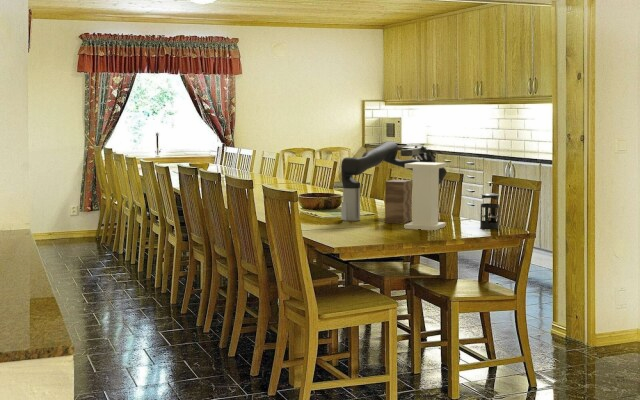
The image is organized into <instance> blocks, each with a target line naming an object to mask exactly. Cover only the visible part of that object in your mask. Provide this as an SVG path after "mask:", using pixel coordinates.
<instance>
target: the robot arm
mask: <svg viewBox="0 0 640 400" xmlns="http://www.w3.org/2000/svg"><path fill="white" fill-rule="evenodd" d="M420 147H421V150H422V152H423V153H422V154H416V155H412V156H411V159H410V158H409V159H404V160H403V159H399V158H397V155H398V152H399V145H398V144H397V143H396V142H394V141H384V142H383V143H382V144H380V145H378V146H377V147H374V148H372V149H369V150H367V151H365V152H364V153H363V154H362V156H361V157H343V158H342V161H341V165H340V166H341V167H340V168H341V169H340V170H341V171H340V172H341V184H342V201H341V202H340V203H341V205H340V206H341V207H340V208H341V209H340V210H341V214H340V215H341V216H340V217H341V220H342V221H345V222H355V221H356V222H357V221H360V220H361V182H360V181H358V180H355V179H354V177H353V176H359V175H362V174H363V173H364V172H366V171H367V170H369V169H372V168H374V167H376V166H379V165H380V164H381V163H382V162H385V163H387V164H391V165H393V166H397V167H399V168H404V169H408V170H409V171H412V172H413V168H405V164H407V163H413V162H433V163H438V162H437V159H436V158H437V153H436V152H434V151H432V150H431V149H427V148H426V149H425V147H426V146H423V145H421V146H420ZM414 148H418V146H417V145H415V146H414ZM447 173H448V171H447V169H446V167H443V168H439V185H441V184H442V182H443V180H444V179H445V176H446V174H447Z"/></svg>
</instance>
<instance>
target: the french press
mask: <svg viewBox="0 0 640 400" xmlns="http://www.w3.org/2000/svg"><path fill="white" fill-rule="evenodd" d="M485 183H486V184H488V186H489V192H486V193H481V194H480V195H481V199H493V200H499V196H500V194H499V193H491V191H492V190H491V187H492V184H495V181H487V182H485ZM483 209H484V214H483ZM496 211H497V212H496ZM499 215H500V204H499V203H493V202H492V203H491V202H489V203H488V202H486V203H480V223H479V224H480V226H479V229H480V230H485V229H496V230H499V229H500V216H499ZM483 218H484V220H483ZM489 219H490V220H489ZM498 228H499V229H498Z"/></svg>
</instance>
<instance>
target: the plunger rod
mask: <svg viewBox="0 0 640 400" xmlns="http://www.w3.org/2000/svg"><path fill="white" fill-rule="evenodd" d="M417 147H418V146H417ZM421 147H422V146H419V147H418V148H415V147H413V148H412V147H411V148H405V149H400V156H401V157H412V156H413V155H416V154H422V153H423V152H422V150H421ZM424 147H425V149H427V146H424Z"/></svg>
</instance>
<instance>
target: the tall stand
mask: <svg viewBox="0 0 640 400" xmlns="http://www.w3.org/2000/svg"><path fill="white" fill-rule="evenodd" d="M447 165H448V164H447V162H437V163H433V162H413V163H407V164H405V168H404V169H407V168H413V171H412V221H410V222H407V223H404V224H403V225H404V226H403V229H404V228H405V229H404V230H418V229H421V230H420V231H433V230H434V232H435V231H437V230H440V228H441V229H443V228H445V226H446V225H447V223H446V222H445V221H444V222H442V221H441V222H440V221H439V191H440V190H439V187H440V186H439V185H440V184H439V168H443V167H444V168H447V167H448V166H447Z"/></svg>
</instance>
